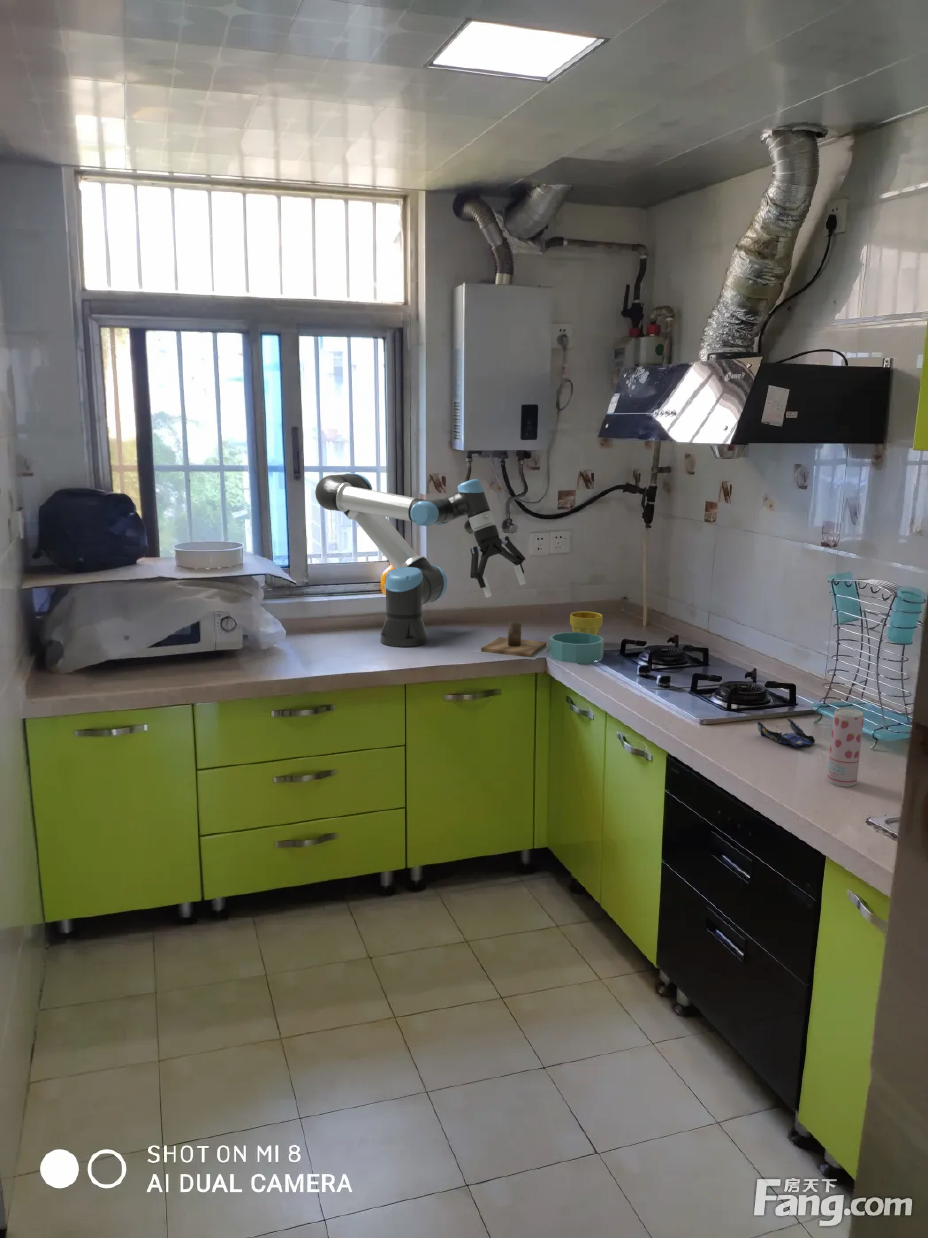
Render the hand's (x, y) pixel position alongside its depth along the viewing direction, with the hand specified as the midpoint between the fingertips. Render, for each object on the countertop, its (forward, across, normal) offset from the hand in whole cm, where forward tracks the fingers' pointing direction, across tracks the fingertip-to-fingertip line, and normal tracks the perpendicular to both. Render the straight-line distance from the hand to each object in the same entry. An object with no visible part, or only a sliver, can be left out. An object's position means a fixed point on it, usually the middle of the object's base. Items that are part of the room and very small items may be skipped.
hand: (506, 590), depth 297 cm
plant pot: (+25, +19, -4) cm, 32 cm away
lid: (+18, -5, -2) cm, 19 cm away
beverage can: (+59, -13, -116) cm, 131 cm away
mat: (+18, -6, -1) cm, 19 cm away
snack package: (+54, -3, -95) cm, 109 cm away
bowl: (+26, +5, -16) cm, 31 cm away
